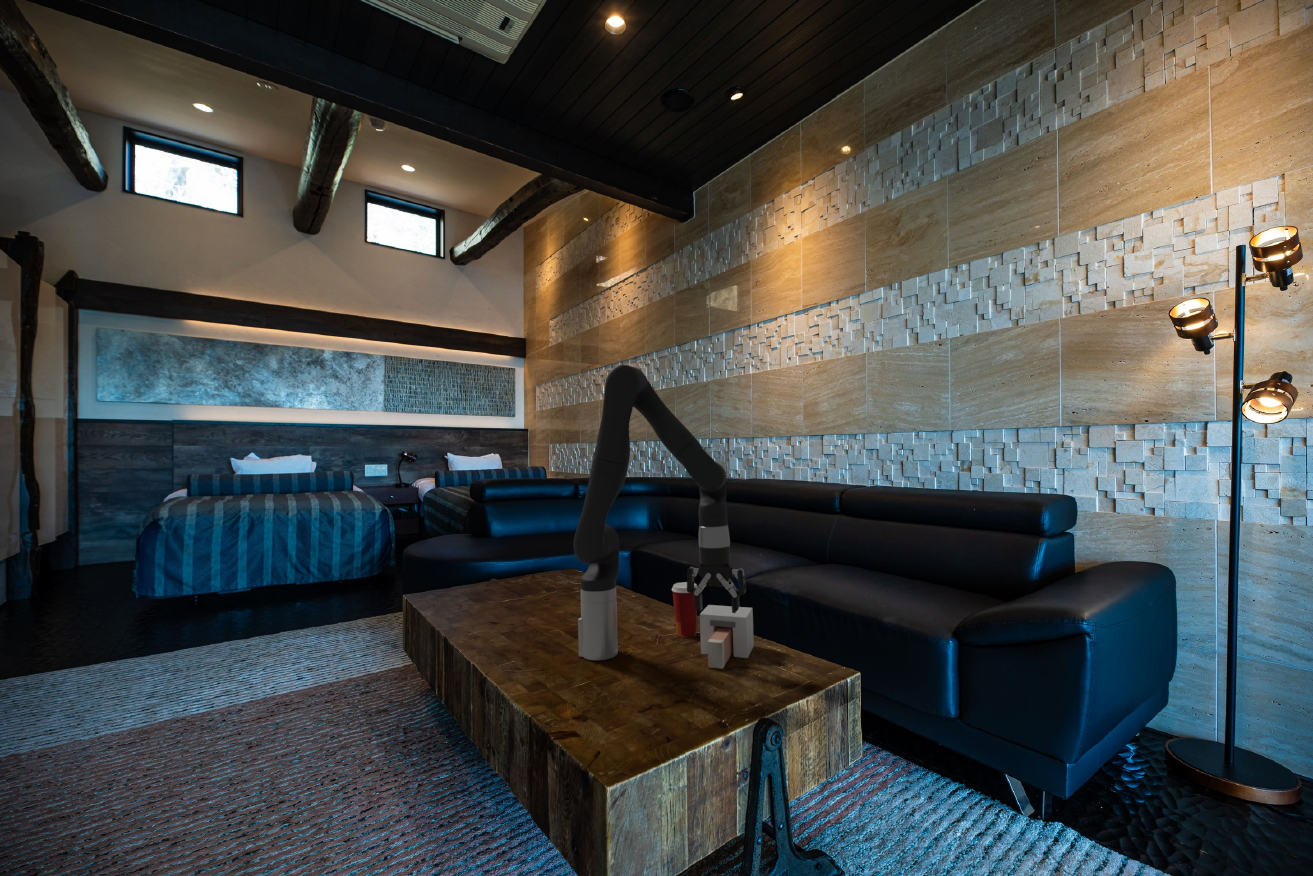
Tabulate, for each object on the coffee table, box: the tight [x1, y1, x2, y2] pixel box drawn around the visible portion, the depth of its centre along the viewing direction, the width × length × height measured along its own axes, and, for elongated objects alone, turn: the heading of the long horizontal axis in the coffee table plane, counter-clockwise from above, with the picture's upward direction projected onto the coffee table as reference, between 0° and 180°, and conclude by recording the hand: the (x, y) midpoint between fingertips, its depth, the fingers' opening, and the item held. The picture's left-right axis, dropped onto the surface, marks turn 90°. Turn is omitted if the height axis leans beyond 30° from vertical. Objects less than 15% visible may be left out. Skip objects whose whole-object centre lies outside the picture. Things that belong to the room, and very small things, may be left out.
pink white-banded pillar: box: [707, 626, 734, 670], centre depth 136 cm, size 4×16×6 cm, turn 160°
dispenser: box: [699, 604, 755, 659], centre depth 141 cm, size 12×10×10 cm
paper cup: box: [671, 581, 698, 639], centre depth 154 cm, size 8×8×14 cm
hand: (717, 611), depth 131 cm, fingers open, 8 cm apart
